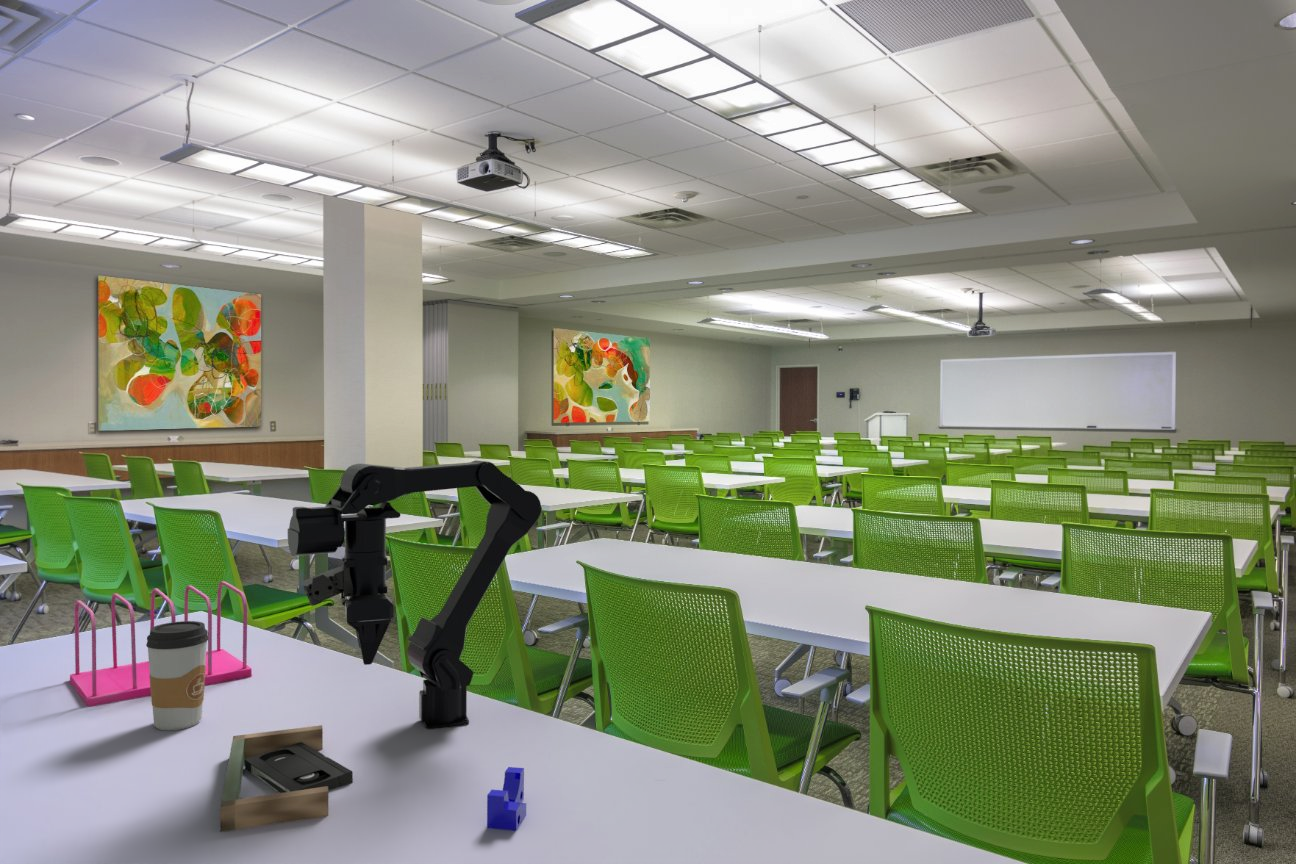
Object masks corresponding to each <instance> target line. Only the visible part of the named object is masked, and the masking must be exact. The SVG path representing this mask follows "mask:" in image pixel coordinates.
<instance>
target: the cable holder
mask: <svg viewBox="0 0 1296 864" xmlns="http://www.w3.org/2000/svg"><path fill="white" fill-rule="evenodd" d="M486 795H487V796H486V806H487V807H486V808H487V809H486V812H487V813H486V829H491V830H492V829H493V830H504V831H517V830H518V829H519V827H520V825H521V824H522V823H523V821H524V820H525V818H526V816H527V803H524V799H525V768H524V767H514V766H513V767H512V766H508V767H507V768H506V770H505V771H504V781H503V786H502V790H501V789H491V790H490V791H489V792H488V794H486Z"/></svg>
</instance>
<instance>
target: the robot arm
mask: <svg viewBox="0 0 1296 864" xmlns="http://www.w3.org/2000/svg"><path fill="white" fill-rule="evenodd" d="M470 487H471V488H472V487H474V488H475V489H476V490H477V492H478V493H479V495H480V496H481V497H482V498H483V499H484V500H485V501H486V502H487V503H488V504H489V505H490V507H489V510H488V512H487V515H486V523H485V531H484V534H483V536H482V538H481V540H480V541H479V543H478V545H477V547H476V549H475V550H474V552H473V554H472V556H471V557H470V559H469V561H468V563H467V564H466V566H465V567H464V569H463V572H461V575H460V576H459V578H458V580H457V581H456V584H455V585H454V587H453V588H452V590H451V592H450V594H449V595H448V598H447V599H446V601H445V603H444V605H443V606H442V608H441V609H440V611H439V612H438V613H437V614H436V615H435V616H434V617H432V618H431V619H430V620H429V619H428V618H425V617H421V618H420V620H419V621H418V623H417V625H416V628H415V630H414V632H413V633H412V635H410V636H409V637H408V638H407V641H408V642H409V644H408V647H407V650H406V654H407V657H408V662H409V663H410V664H411V666H412V667H414V668H415V669H417V671H418V674H419V676H420V678H424V679H423V680H422V689H421V690H419V693H418V694H419V695H418V696H419V697H418V701H419V702H418V704H419V705H418V708H419V709H418V716H419V718H420V722H422V723H423V724H424V727H425V729H426V730H432V729H433V730H434V729H440V728H447V727H456V726H464V725H468V724H470V719H469V717H468V715H467V710H468V708H467V707H468V706H467V704H468V703H467V702H468V701H467V698H468V697H467V695H468V694H467V687H469V686H470V685H471V682H472V679H473V676H474V671H473V670H472V669H471V668H470V667H469V666H468V665H466V663H464V662H463V661H462V660H461V656H462V653H463V651H464V648H465V645H466V644H465V643H466V641H465V640H466V633H467V627H468V624H469V623H470V622H471V619H472V618H473V616H474V614H475V612H476V610H477V609H478V607H479V605H480V603H481V601H482V600H483V598H484V597H485V594H486V593H487V591H488V589H489V587H490V585H491V583H492V582H493V580H494V579H495V577H496V574H497V573H498V571H499V569H500V567H501V566H502V564H503V562H504V560H505V558H506V557H507V555H508V553H509V551H510V549H512V547H513V546H514V545H515V544H516V543H518V542H519V541H520V540H521V539H523V537H525V536H526V535H527V534H528V533H529V532H530V531H531V530H532V528H533V527H534V525H535V524H536V523H537V522H538V520H539V519H540V516H541V514H542V511H543V508H542V504H541V503H542V502H541V501H540V498H539V497H538V496H537V494H536V493H535V492H532V491H529V490H525V488H523V487H522V486H521V485H520V484H518V483H517V482H516V481H514V480H513V479H512V478H510V477H509V476H508V475H506V474H505V473H503V472H502V471H501V470H500V468H498V467H497V466H496V465H495V463H493V462H491V461H485V460H478V459H476V460H473V461H470V462H459V463H448V464H447V463H445V464H433V465H424V466H422V465H421V466H412V467H398V466H388V465H380V464H369V463H356V464H351V465H350V466H348V467H347V469H346V470H345V471H344V472H343V473H342V476H341V478H340V485H339V486H338V488H337V489H336V491H335V492H334V493H333V495H332V497H331V498H330V499H329V500H328V502H327V503H326V504H325V506H317V507H315V506H314V507H307V506H294V507H292V516H291V517H290V522H289V526H288V528H287V544H288V545H287V546H288V549H289V552H290V555H291V556H292V557H300V556H311V555H312V556H313V555H321V554H334V553H336V552H337V551H338V548H342V546H343V545H344V555H343V557H341V566H338V567H335V568H332V569H328V570H326V571H324V572H321V573H319V574H316V575H313V576H312V577H309V578H306V579H305V580H303V581H302V586H303V587H302V588H303V589H304V592H305V595H306V597H307V600H308V602H309V604H310V606H311V607H315V606H317V605H319V604H321V603H322V602H323V601H327V600H328V599H330V598H333V597H335V596H338V595H339V596H340V601H341V603H342V605H343V606H344V608H345V609H344V611H345V621H346V624H347V625H348V626H350V627H351V628H352V629H354V630H355V634H356V638H357V643H358V647H359V648H360V652H361V657H362V661H363V665H372V664H373V663H374V660H375V658H376V655H377V653H378V651H379V648H380V645H381V644H382V642H383V639H384V637H385V634H386V632H387V630H388V627H389V625H390V624H391V623H392V620H393V619H394V618H395V617H394V616H395V615H394V614H395V613H394V609H395V607H394V606H395V605H394V602H393V601H392V598H390V597H389V596H387V594H388V586H387V579H386V578H387V577H386V575H387V574H386V573H387V572H386V571H387V567H386V566H388V556H387V555H386V554H387V547H386V546H387V541H386V540H387V539H386V538H387V533H386V532H387V520H388V519H399V518H400V517H401V513H400V512H398V511H397V510H396V509H395V508H394V507H393V505H392V504H391V501H394V500H396V499H397V500H398V499H399V498H402V497H403V496H407V495H410V494H413V493H422V492H423V493H424V492H431V491H441V490H443V491H444V490H453V489H461V488H470ZM376 505H377V506H376ZM368 506H372V507H368Z"/></svg>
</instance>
